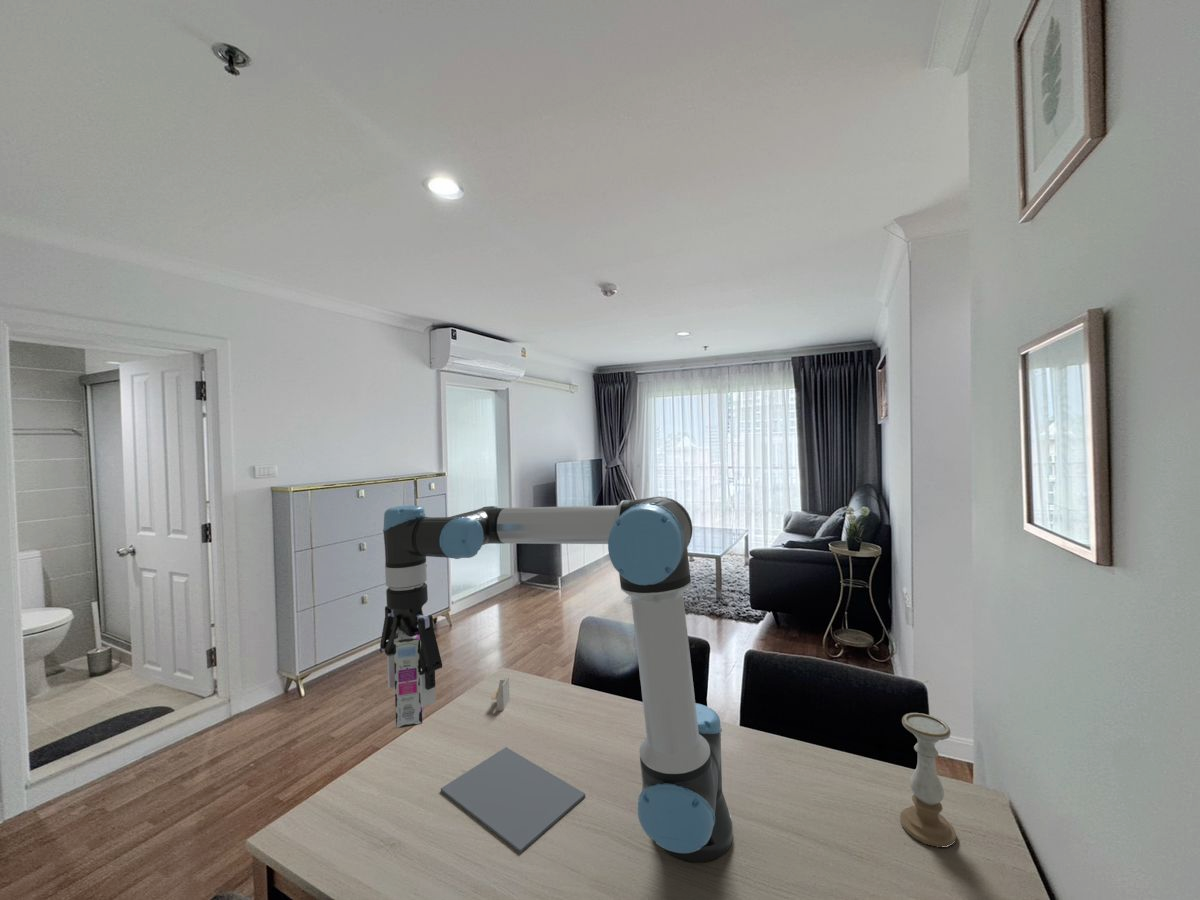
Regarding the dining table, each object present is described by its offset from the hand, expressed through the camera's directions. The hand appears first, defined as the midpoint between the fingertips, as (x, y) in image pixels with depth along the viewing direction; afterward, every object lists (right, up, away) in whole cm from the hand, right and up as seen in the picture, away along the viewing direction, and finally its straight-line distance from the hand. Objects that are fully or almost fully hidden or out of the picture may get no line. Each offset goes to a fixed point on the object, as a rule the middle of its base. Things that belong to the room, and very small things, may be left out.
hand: (411, 694), depth 96 cm
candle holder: (+99, -24, -4) cm, 102 cm away
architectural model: (+10, -26, +44) cm, 52 cm away
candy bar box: (0, -4, 0) cm, 4 cm away
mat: (+18, -25, +8) cm, 32 cm away
